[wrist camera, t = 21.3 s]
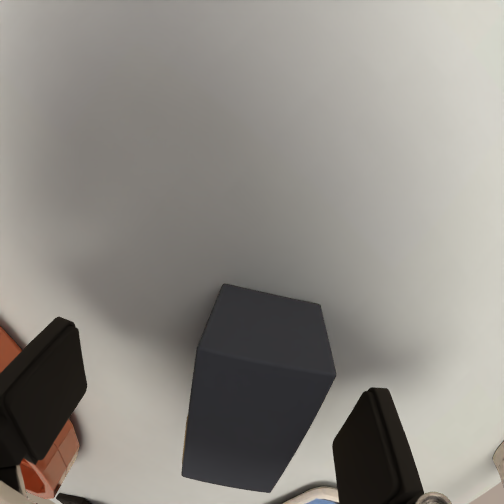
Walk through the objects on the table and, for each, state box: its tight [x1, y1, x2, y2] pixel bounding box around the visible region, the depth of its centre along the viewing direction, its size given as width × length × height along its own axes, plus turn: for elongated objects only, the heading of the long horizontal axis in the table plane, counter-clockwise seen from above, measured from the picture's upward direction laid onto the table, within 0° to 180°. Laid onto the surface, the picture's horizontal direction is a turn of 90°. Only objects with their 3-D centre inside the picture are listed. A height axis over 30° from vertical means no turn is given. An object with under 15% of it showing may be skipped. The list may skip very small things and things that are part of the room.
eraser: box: [182, 284, 336, 493], centre depth 10 cm, size 7×4×4 cm, turn 168°
